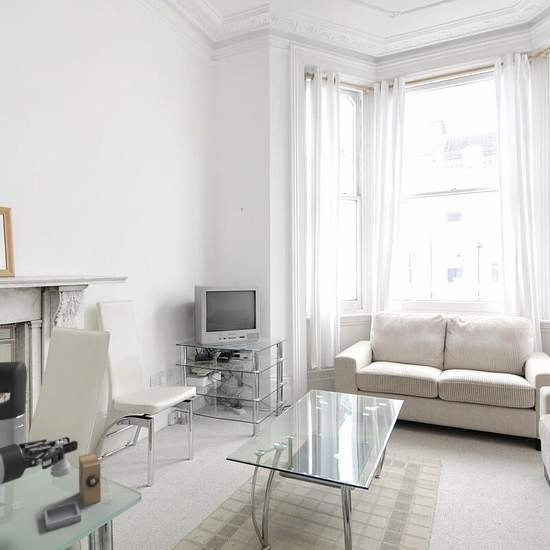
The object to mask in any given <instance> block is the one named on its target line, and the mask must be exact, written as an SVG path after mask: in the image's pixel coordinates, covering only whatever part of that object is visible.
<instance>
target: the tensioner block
mask: <svg viewBox="0 0 550 550" xmlns="http://www.w3.org/2000/svg"><path fill="white" fill-rule="evenodd" d="M101 486H102V485H101V463H100V461H99V458H98V456H97V455H96V453H95V452H92V453H86V454H82V455H78V493H79V496H80V498H81V501H82V504H83V506H84V507H85V506H89V505H92V504H95V503H96V504H97V503H100V502H101V499H102V498H101V492H102V491H101Z"/></svg>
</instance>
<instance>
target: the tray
mask: <svg viewBox="0 0 550 550" xmlns="http://www.w3.org/2000/svg"><path fill="white" fill-rule="evenodd" d="M43 520H44V525H45V530H46V532H48V531H52V530H56V529H58V528H62V527H65V526H68V525H71V524H76V523H79V522H81V521H82V513H81V511H80V508H79V506H78V502H77V500H74V501H72V502H67V503H63V504H61V505H60V504H59V505H57V506H54V507H49V508H46V509H43Z"/></svg>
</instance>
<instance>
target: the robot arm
mask: <svg viewBox="0 0 550 550" xmlns="http://www.w3.org/2000/svg"><path fill="white" fill-rule="evenodd" d="M27 383H28V370H27V366H26V364H25V362H23V361H1V362H0V394H9V398H8V399H7V400H5V401H2V402H0V486H1V485H4V484H7V483H10V482H12V481H16V480H18V479H20V478H21V477H23V476H24V473H25V471H26V470H27V469H30V468H36V467H39V466H41V469H42V470H47V469H48V468H50V467H51V468H52V466H53V465H54V464H56V463H58V462H59V461H61V460H63V459H64V454H66V455H67V454H69V453H71V452H75V451H77V450H78V441H77V440H72V441H71V440H70V437H67V436H65V437H62V438H59V439H55V440H52V439H51V440H47V439H41V440H39V439H38V440H33V441H29V442H26V405H27ZM60 439H63V441H64V439H66V440H67V442H68V443H65V444H62V445H59V446H55V447H54V444H55V441H57V440H59V441H60Z"/></svg>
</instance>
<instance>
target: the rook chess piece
mask: <svg viewBox="0 0 550 550" xmlns="http://www.w3.org/2000/svg"><path fill="white" fill-rule="evenodd" d="M59 439H60V441H59V440H58V439H56V440H57V441H55V440H54V441H55V444H54V447H55V446H59V445H62V444H65V443H68V442H67V440H66V439H64V441H63V439H61V438H59ZM71 470H72V468H71V464H70V463H69V461H68V456H67V453H66V454H64V459H63V460H61V461H59V462H58V463H56V464H54V465H52V466H51V468H50V471H51V472H50V475H51V476H52V477H54V478H60V477H61V478H62V477H64V476H67V475H69V474H70V472H71Z"/></svg>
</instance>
